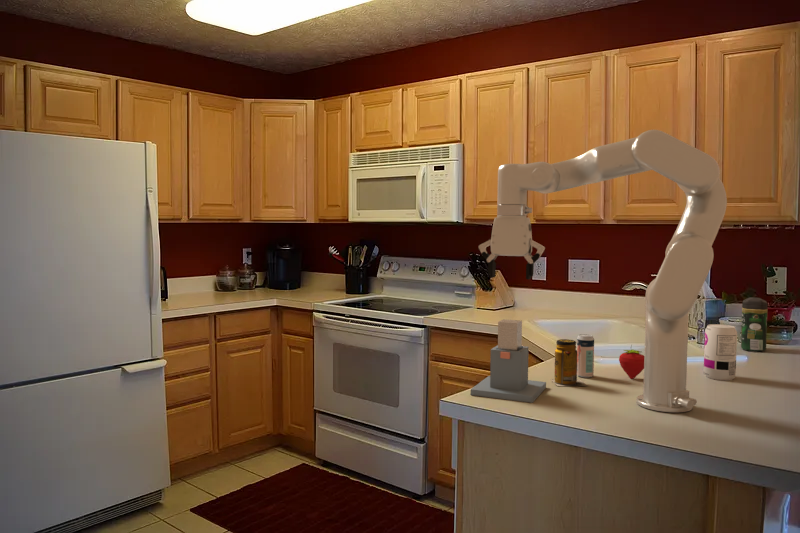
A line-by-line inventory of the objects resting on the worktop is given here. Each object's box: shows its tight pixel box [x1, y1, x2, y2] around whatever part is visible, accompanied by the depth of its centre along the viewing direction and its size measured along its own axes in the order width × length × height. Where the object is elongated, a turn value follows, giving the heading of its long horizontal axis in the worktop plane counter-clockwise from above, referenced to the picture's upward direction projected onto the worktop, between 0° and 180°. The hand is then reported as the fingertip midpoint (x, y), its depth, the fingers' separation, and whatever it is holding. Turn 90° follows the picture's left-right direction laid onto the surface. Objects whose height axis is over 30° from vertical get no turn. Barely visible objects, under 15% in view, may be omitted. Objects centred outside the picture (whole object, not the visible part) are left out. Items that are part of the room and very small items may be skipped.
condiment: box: [550, 338, 588, 387], centre depth 170 cm, size 7×8×12 cm
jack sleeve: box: [470, 344, 547, 404], centre depth 161 cm, size 16×16×12 cm
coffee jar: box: [740, 296, 768, 353], centre depth 217 cm, size 10×8×19 cm
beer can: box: [576, 333, 595, 379], centre depth 178 cm, size 5×5×12 cm
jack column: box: [497, 319, 523, 351], centre depth 161 cm, size 5×5×17 cm
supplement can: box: [703, 323, 738, 381], centre depth 177 cm, size 8×8×15 cm
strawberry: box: [618, 344, 644, 380], centre depth 175 cm, size 6×8×10 cm
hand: (510, 278), depth 160 cm, fingers open, 9 cm apart
